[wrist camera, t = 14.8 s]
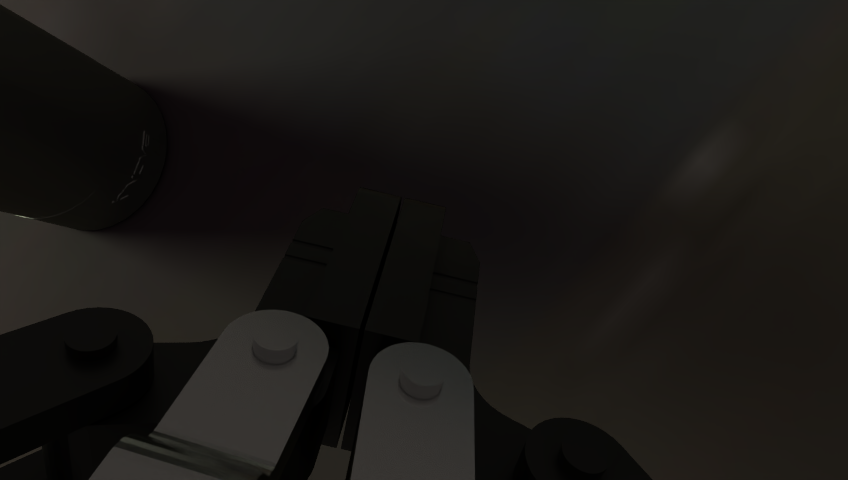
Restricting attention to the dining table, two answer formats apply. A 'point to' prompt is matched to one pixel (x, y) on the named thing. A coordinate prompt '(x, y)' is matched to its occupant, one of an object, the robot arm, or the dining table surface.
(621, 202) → the dining table surface
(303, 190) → the dining table surface
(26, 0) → the dining table surface
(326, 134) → the dining table surface
